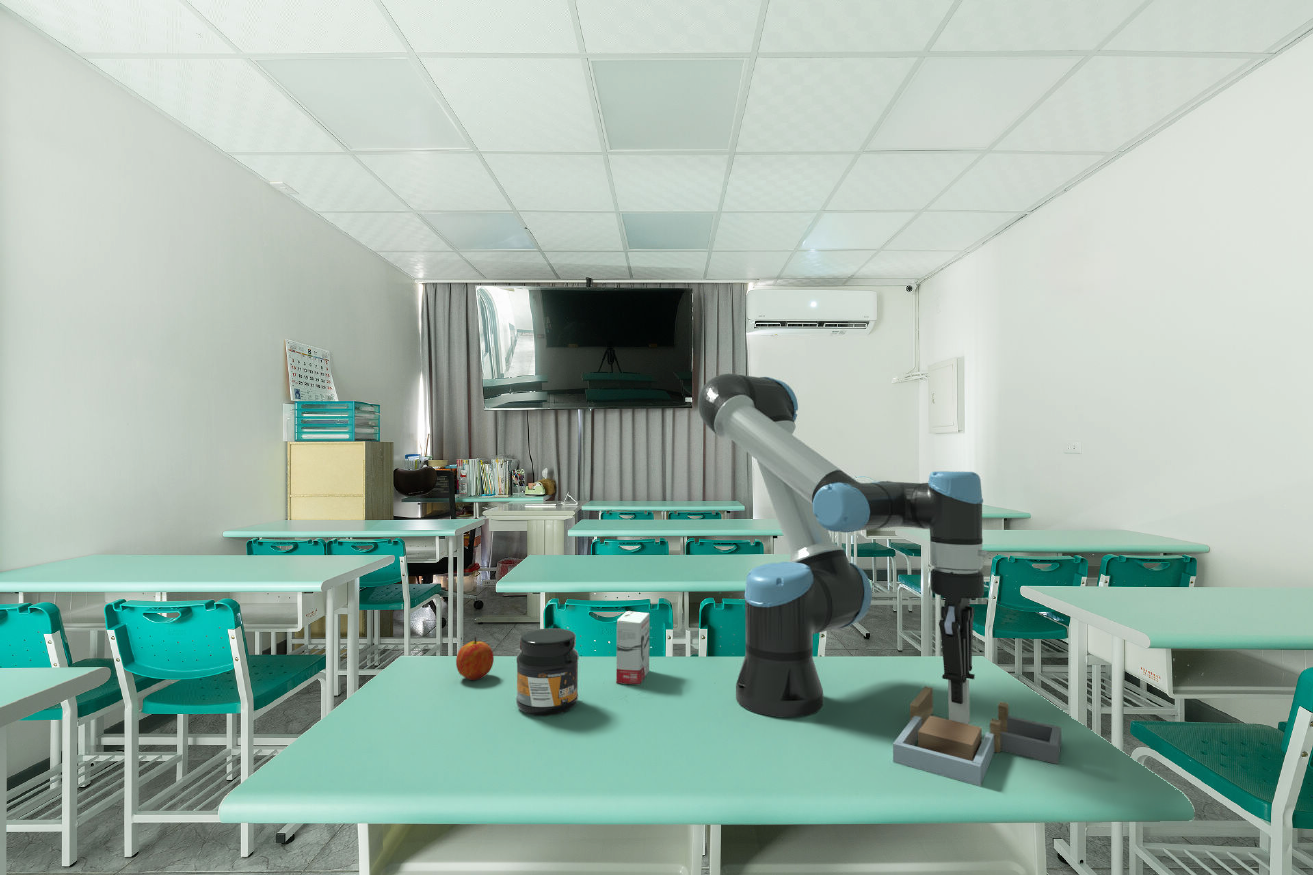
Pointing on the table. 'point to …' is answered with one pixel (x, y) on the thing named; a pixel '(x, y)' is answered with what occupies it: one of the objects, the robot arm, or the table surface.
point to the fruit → (474, 660)
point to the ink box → (632, 647)
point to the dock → (942, 756)
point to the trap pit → (1032, 739)
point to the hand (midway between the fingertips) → (959, 721)
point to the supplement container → (547, 672)
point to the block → (950, 737)
